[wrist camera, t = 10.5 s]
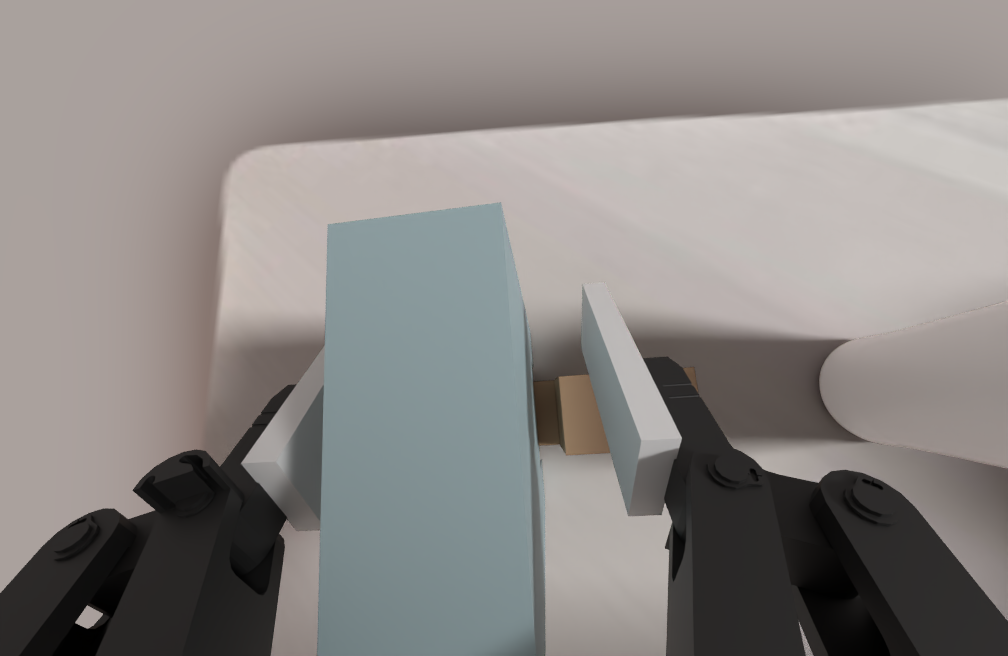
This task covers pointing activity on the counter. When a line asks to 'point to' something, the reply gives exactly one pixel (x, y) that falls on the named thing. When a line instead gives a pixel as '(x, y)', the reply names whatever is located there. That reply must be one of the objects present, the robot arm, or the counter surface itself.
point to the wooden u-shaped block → (573, 414)
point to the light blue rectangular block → (429, 443)
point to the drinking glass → (927, 386)
